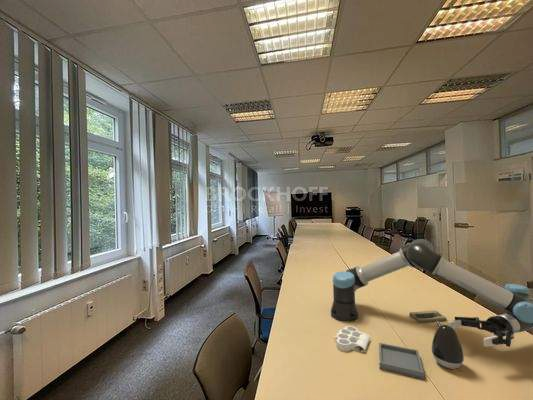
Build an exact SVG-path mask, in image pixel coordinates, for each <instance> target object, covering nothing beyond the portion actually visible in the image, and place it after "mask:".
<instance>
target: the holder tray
mask: <svg viewBox="0 0 533 400" xmlns="http://www.w3.org/2000/svg"><path fill="white" fill-rule="evenodd" d="M419 352H420V351H419V350H418V349H414V348H408V347H403V346H398V345H393V344H387V343H382V342H379V343H378V355H379V357H378V358H379V363H378V365H379V366H378V367H379V370H381V371H385V372H389V373H394V374H398V375H403V376H407V377H410V378H414V379H420V380H425V370H424V367H423V364H422V360H421V357H420V353H419Z"/></svg>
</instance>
